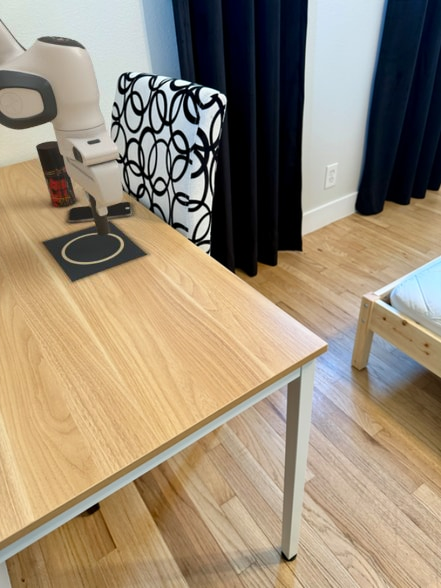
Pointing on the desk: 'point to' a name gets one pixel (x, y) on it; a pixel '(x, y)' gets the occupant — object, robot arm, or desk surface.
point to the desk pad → (92, 251)
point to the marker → (99, 219)
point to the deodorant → (56, 174)
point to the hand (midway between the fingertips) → (98, 210)
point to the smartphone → (86, 213)
